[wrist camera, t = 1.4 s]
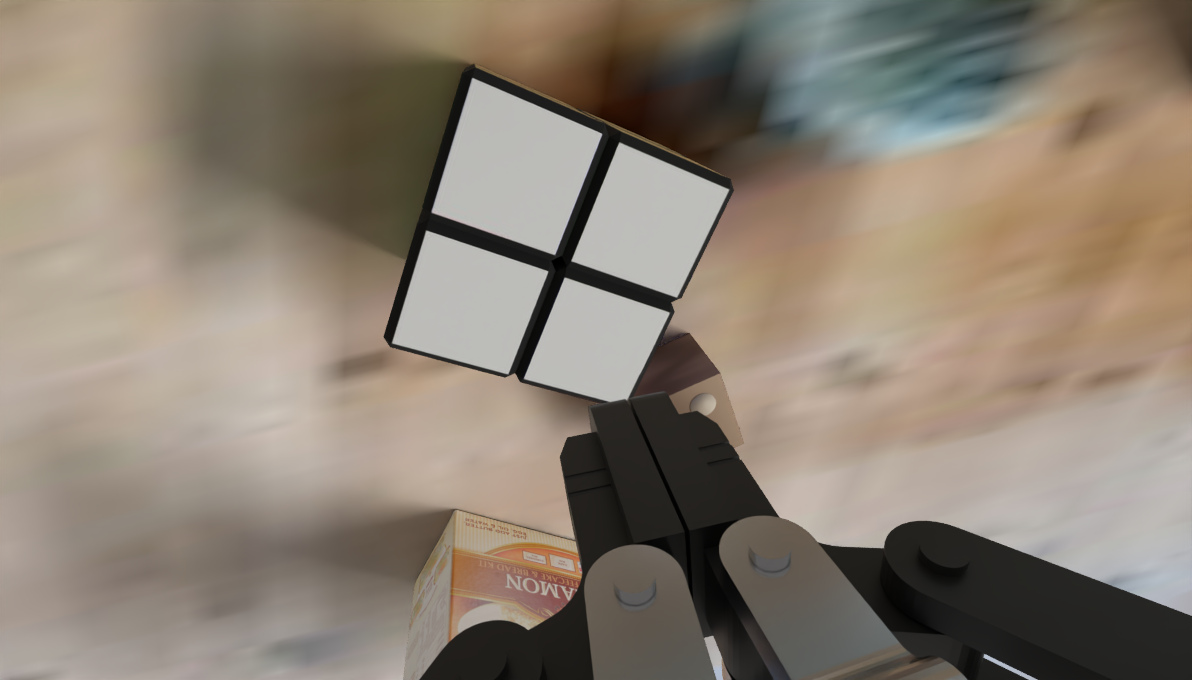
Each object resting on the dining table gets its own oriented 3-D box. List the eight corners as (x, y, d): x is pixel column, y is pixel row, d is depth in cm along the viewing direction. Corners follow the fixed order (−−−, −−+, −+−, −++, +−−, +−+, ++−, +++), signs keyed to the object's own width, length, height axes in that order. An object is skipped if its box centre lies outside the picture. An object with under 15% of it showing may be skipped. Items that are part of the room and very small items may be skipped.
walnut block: (689, 332, 34) (720, 373, 30) (711, 396, 37) (744, 443, 32) (611, 367, 34) (631, 412, 30) (639, 428, 37) (661, 480, 32)
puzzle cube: (587, 318, 33) (629, 414, 24) (408, 262, 30) (379, 349, 21) (662, 144, 29) (742, 183, 21) (467, 60, 26) (463, 62, 17)
